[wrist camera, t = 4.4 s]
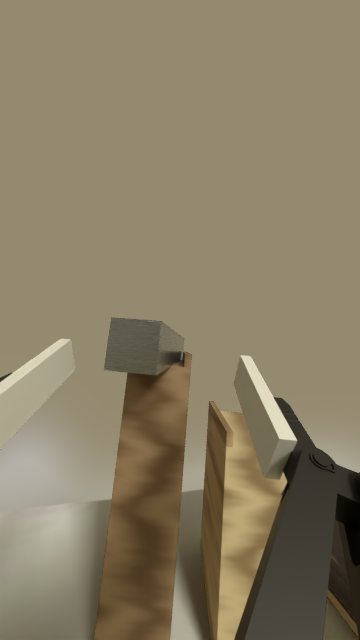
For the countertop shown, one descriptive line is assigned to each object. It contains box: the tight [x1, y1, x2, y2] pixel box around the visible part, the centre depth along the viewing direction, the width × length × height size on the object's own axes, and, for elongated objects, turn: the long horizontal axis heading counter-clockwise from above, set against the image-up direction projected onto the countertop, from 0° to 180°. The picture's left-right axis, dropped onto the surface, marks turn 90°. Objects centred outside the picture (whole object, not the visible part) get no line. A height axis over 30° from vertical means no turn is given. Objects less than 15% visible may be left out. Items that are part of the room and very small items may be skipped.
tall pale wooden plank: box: [200, 401, 287, 640], centre depth 25 cm, size 8×12×22 cm, turn 0°
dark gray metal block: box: [104, 318, 184, 376], centre depth 25 cm, size 4×22×4 cm, turn 174°
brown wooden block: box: [94, 352, 192, 640], centre depth 25 cm, size 7×13×30 cm, turn 0°
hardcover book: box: [327, 520, 359, 638], centre depth 28 cm, size 16×23×2 cm
